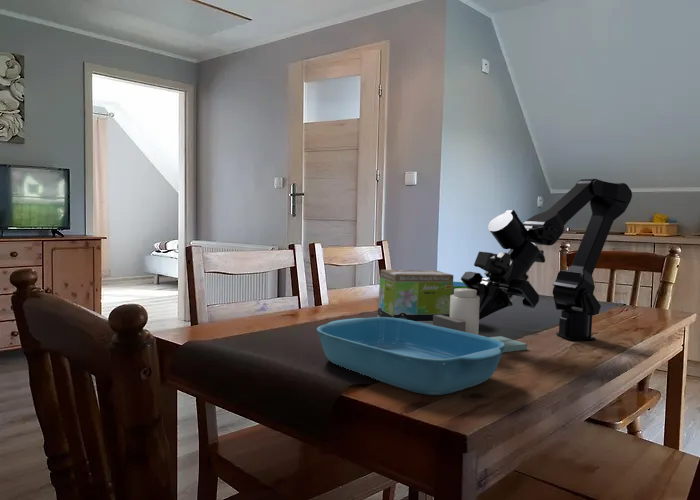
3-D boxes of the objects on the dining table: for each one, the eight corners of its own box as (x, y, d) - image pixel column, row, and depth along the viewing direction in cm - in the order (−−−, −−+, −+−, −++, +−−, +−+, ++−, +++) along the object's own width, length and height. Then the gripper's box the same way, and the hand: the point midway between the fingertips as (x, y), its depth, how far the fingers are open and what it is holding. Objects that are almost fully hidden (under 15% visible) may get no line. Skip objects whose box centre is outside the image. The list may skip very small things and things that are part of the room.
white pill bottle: (464, 339, 121) (467, 287, 120) (483, 346, 115) (486, 291, 115) (442, 342, 118) (444, 288, 117) (461, 348, 112) (463, 292, 112)
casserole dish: (295, 358, 108) (295, 322, 108) (378, 343, 123) (379, 311, 122) (444, 414, 80) (446, 365, 80) (529, 386, 95) (531, 344, 94)
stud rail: (500, 341, 127) (501, 309, 126) (526, 349, 120) (528, 316, 119) (431, 349, 118) (433, 315, 117) (456, 358, 111) (457, 322, 110)
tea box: (392, 338, 127) (394, 273, 126) (376, 329, 136) (378, 268, 135) (451, 335, 132) (454, 273, 131) (432, 327, 141) (434, 268, 140)
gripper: (468, 236, 127) (427, 287, 123) (531, 240, 111) (486, 300, 106) (493, 268, 131) (455, 319, 127) (557, 278, 115) (516, 336, 111)
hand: (476, 318), depth 118 cm, fingers closed, pressing on white pill bottle
